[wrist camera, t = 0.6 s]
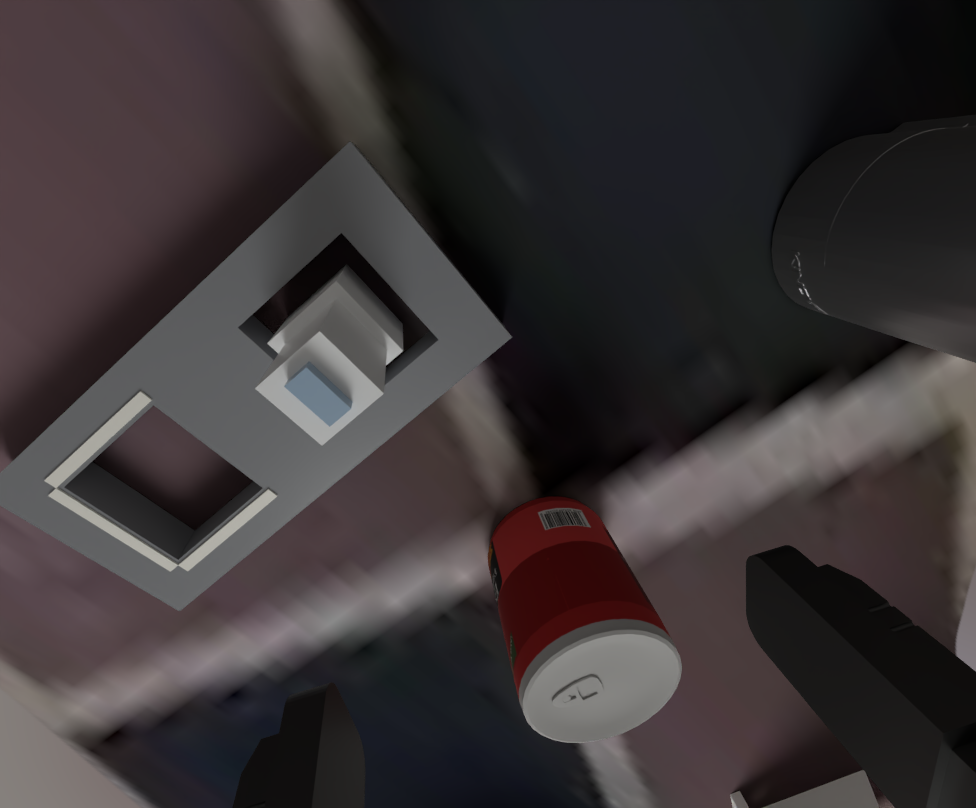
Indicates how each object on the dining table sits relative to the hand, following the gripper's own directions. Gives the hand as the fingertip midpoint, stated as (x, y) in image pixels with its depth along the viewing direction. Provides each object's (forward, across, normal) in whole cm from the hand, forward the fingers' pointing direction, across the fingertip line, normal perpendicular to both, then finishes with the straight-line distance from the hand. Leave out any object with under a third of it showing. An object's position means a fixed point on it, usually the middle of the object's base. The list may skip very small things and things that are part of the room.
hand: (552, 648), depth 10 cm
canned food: (+20, -4, +14) cm, 25 cm away
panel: (+20, +10, 0) cm, 22 cm away
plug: (+20, +4, -3) cm, 21 cm away
